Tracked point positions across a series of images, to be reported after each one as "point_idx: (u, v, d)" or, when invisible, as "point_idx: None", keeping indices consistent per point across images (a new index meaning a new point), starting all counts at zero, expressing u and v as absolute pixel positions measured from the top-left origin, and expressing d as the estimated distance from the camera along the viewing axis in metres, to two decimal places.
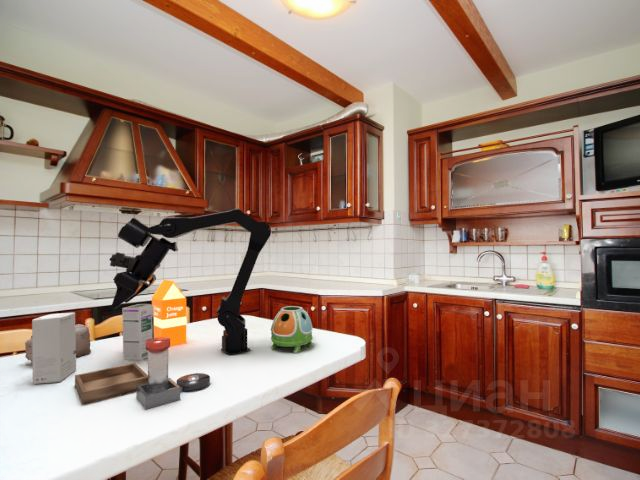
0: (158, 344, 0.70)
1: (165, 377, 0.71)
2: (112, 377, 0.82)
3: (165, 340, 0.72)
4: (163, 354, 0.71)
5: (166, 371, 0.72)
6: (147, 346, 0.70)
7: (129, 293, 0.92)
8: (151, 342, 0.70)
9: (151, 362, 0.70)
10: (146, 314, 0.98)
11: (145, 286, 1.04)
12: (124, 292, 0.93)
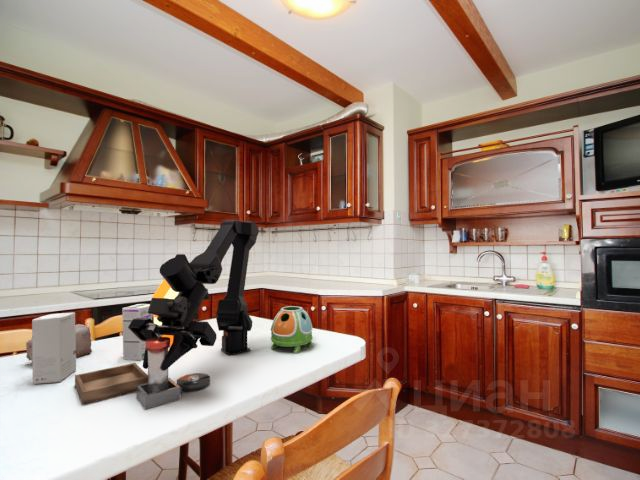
0: (158, 344, 0.70)
1: (165, 377, 0.71)
2: (112, 377, 0.82)
3: (165, 340, 0.72)
4: (163, 354, 0.71)
5: (166, 371, 0.72)
6: (147, 346, 0.70)
7: (186, 348, 0.75)
8: (151, 342, 0.70)
9: (151, 362, 0.70)
10: (146, 314, 0.98)
11: None
12: (180, 347, 0.74)
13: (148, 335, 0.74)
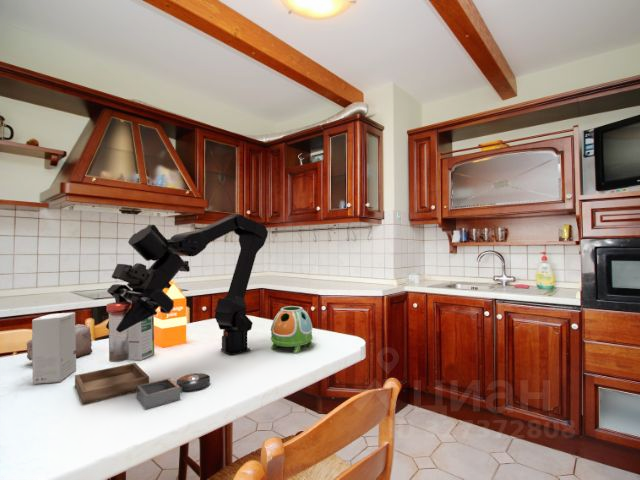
0: (114, 307, 0.74)
1: (122, 339, 0.75)
2: (112, 377, 0.82)
3: (123, 304, 0.75)
4: (119, 317, 0.75)
5: (124, 333, 0.75)
6: None
7: (146, 314, 0.77)
8: (110, 304, 0.75)
9: (109, 323, 0.75)
10: None
11: None
12: (139, 312, 0.76)
13: (117, 299, 0.79)
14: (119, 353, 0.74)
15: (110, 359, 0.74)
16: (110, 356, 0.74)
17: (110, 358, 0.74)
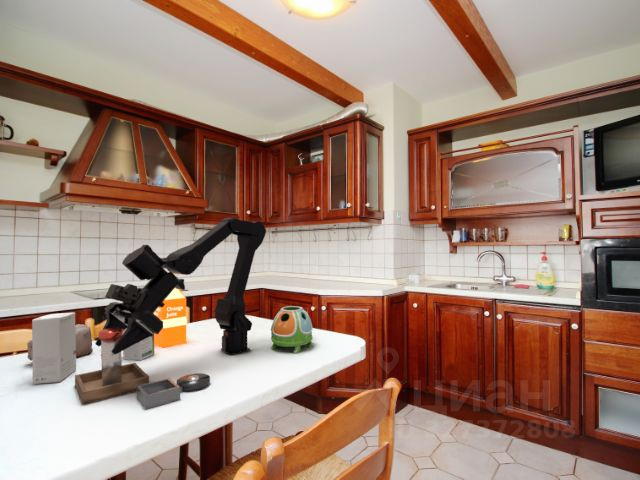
0: (104, 334, 0.75)
1: (113, 366, 0.76)
2: None
3: (114, 331, 0.77)
4: (110, 344, 0.76)
5: (115, 360, 0.77)
6: None
7: (142, 336, 0.77)
8: (101, 332, 0.76)
9: (101, 350, 0.76)
10: None
11: (125, 326, 0.85)
12: (135, 334, 0.76)
13: (107, 316, 0.83)
14: (110, 380, 0.76)
15: (102, 385, 0.76)
16: (102, 381, 0.76)
17: (102, 384, 0.76)
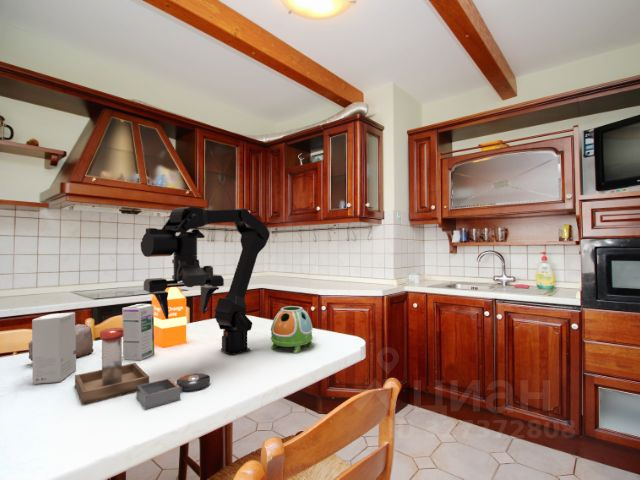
0: (105, 334, 0.76)
1: (113, 366, 0.77)
2: None
3: (115, 331, 0.77)
4: (111, 344, 0.76)
5: (115, 360, 0.77)
6: None
7: None
8: (102, 331, 0.77)
9: (102, 350, 0.77)
10: (146, 314, 0.98)
11: None
12: None
13: (164, 296, 0.85)
14: (110, 380, 0.76)
15: (102, 385, 0.76)
16: (102, 381, 0.76)
17: (102, 384, 0.76)
